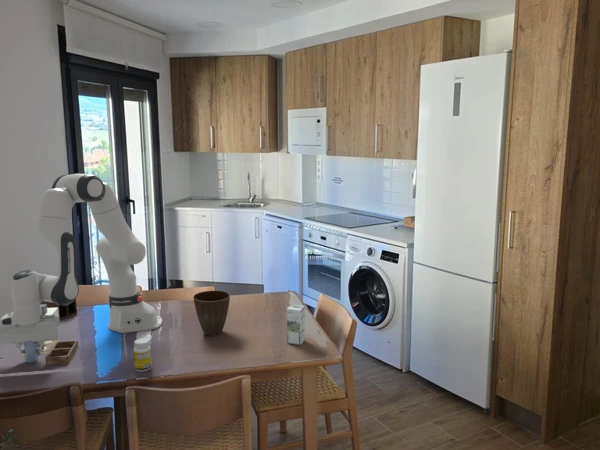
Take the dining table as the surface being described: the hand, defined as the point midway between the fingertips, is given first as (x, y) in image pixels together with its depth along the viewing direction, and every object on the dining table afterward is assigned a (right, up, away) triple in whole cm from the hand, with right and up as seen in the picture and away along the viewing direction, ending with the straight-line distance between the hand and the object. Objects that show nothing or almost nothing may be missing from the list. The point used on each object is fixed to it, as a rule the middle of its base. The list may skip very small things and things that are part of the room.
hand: (31, 353), depth 188 cm
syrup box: (+95, 0, +18) cm, 97 cm away
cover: (-11, +1, +31) cm, 32 cm away
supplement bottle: (+42, -4, -5) cm, 42 cm away
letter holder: (-17, +4, +54) cm, 56 cm away
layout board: (-3, -2, +13) cm, 14 cm away
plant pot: (+61, +1, +29) cm, 67 cm away
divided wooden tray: (+9, -3, +4) cm, 11 cm away
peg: (0, -4, +1) cm, 4 cm away
